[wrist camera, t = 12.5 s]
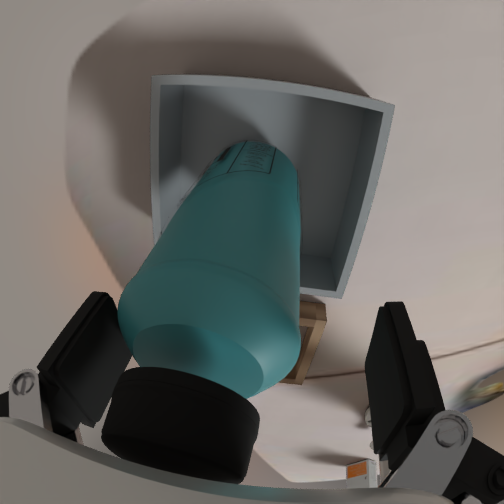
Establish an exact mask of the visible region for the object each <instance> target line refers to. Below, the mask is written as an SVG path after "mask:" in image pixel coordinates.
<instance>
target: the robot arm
mask: <svg viewBox="0 0 504 504" xmlns="http://www.w3.org/2000/svg"><path fill="white" fill-rule="evenodd" d="M117 312H118V310H117V308H116V306H115V303H114V301H113V298H112V297H110V296H109V294H108V293H106V292H96V291H94V292H92V293H91V294H90V296H89V297H88V298H87V299H86V300H85V302H84V303H83V304H82V305H81V307H80V308H79V309H78V311H77V312H76V313H75V315H74V316H73V317H72V319H71V320H70V321H69V322H68V324H67V325H66V327H65V328H64V329H63V330H62V332H61V333H60V335H59V336H58V337H57V339H56V340H55V341H54V343H53V344H52V346H51V347H50V349H49V350H48V351H47V353H46V354H45V356H44V357H43V358H42V360H41V361H40V363H39V365H38V366H37V368H38V370H39V371H40V372H39V374H37V373H36V372H35V371H34V370H32V369H25V370H22V371H20V372H18V373H17V374H16V375H15V376H14V377H13V378H12V380H11V382H10V386H9V391H7V392H5V393H3V394H0V504H504V456H503V455H502V454H500V453H498V452H497V451H495V450H493V449H492V448H490V447H488V446H487V445H485V444H483V443H482V442H480V441H479V440H477V439H475V438H474V437H472V436H473V427H472V425H471V422H470V420H469V419H468V418H467V416H465V415H464V414H463V413H461V412H459V411H456V410H445V407H444V403H443V399H442V395H441V392H440V388H439V385H438V381H437V378H436V375H435V371H434V368H433V365H432V362H431V359H430V356H429V353H428V350H427V347H426V344H425V342H424V341H423V340H416V337H415V334H414V331H413V328H412V325H411V322H410V319H409V316H408V313H407V311H406V308H405V305H404V303H403V302H386V303H385V305H384V306H382V307H379V310H378V314H377V318H376V323H375V327H374V331H373V335H372V338H371V342H370V346H369V350H368V353H367V357H366V360H365V373H366V381H367V388H368V397H369V405H370V407H369V408H368V409H367V411H366V413H365V421H366V424H367V425H368V426H370V427H372V436H373V441H372V442H371V443H370V447H371V449H373V450H374V453H375V454H379V467H380V480H381V481H380V482H381V484H380V485H379V486H378V487H377V488H349V489H289V488H271V487H258V486H248V485H239V484H231V483H224V482H217V481H211V480H205V479H200V478H194V477H189V476H184V475H180V474H175V473H171V472H167V471H163V470H159V469H155V468H151V467H147V466H144V465H140V464H137V463H133V462H130V461H127V460H124V459H120V458H117V457H114V456H111V455H108V454H106V453H103V452H100V451H97V450H95V449H92V448H89V447H87V446H84V445H83V441H82V437H81V433H80V429H79V424H80V422H81V423H82V424H84V425H87V426H89V427H92V428H94V426H95V424H96V422H98V421H100V419H101V417H102V415H103V413H104V411H105V409H106V407H107V405H108V403H109V400H110V399H111V397H112V393H113V390H114V388H115V385H116V383H117V381H118V379H119V377H120V375H121V374H122V373H123V372H124V371H125V369H126V367H127V365H128V363H129V361H130V359H131V357H132V354H131V352H130V350H129V348H128V346H127V344H126V342H125V340H124V338H123V335H122V333H121V330H120V326H119V322H118V313H117Z"/></svg>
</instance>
